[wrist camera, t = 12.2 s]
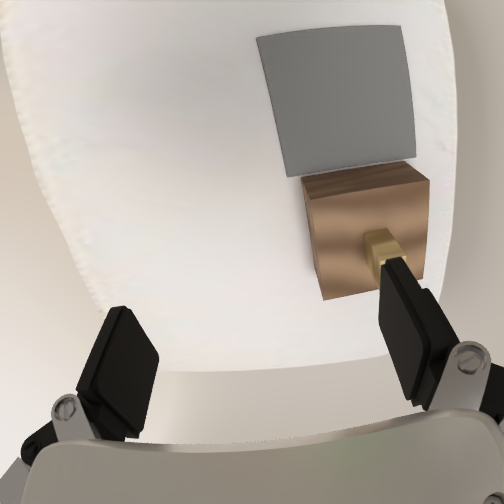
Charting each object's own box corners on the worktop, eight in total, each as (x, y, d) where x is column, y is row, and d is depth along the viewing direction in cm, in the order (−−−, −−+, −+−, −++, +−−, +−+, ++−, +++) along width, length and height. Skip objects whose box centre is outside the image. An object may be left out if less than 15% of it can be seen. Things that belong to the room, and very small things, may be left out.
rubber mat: (256, 38, 30) (256, 37, 30) (398, 26, 28) (400, 25, 28) (287, 176, 40) (287, 177, 39) (414, 156, 37) (416, 157, 37)
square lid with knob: (300, 177, 40) (320, 225, 28) (404, 161, 38) (455, 201, 27) (315, 268, 47) (331, 333, 36) (403, 250, 46) (440, 307, 34)
